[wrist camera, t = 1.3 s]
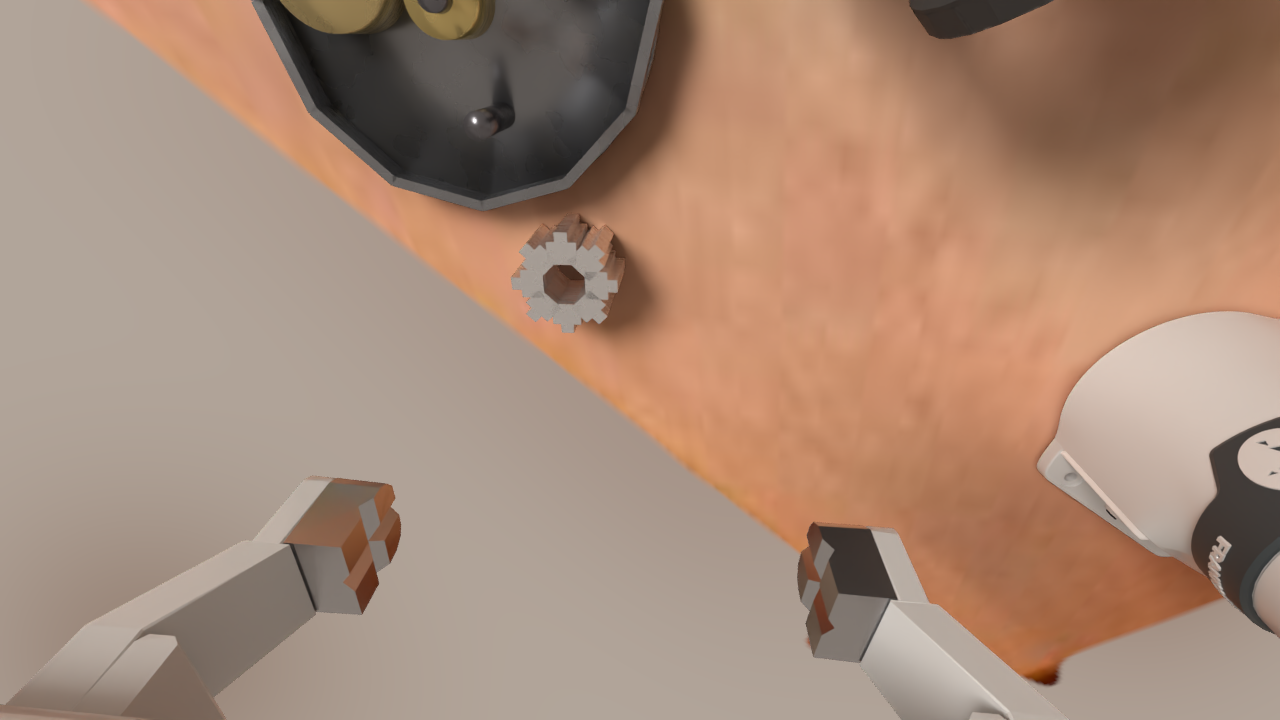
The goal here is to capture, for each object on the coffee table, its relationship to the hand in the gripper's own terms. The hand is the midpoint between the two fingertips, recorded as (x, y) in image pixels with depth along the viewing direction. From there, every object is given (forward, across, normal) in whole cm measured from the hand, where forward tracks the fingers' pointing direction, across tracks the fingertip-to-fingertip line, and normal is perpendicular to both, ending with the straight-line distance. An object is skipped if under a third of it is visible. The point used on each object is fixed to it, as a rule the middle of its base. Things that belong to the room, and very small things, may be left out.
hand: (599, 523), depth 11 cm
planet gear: (+28, +5, +5) cm, 28 cm away
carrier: (+28, +11, -9) cm, 31 cm away
